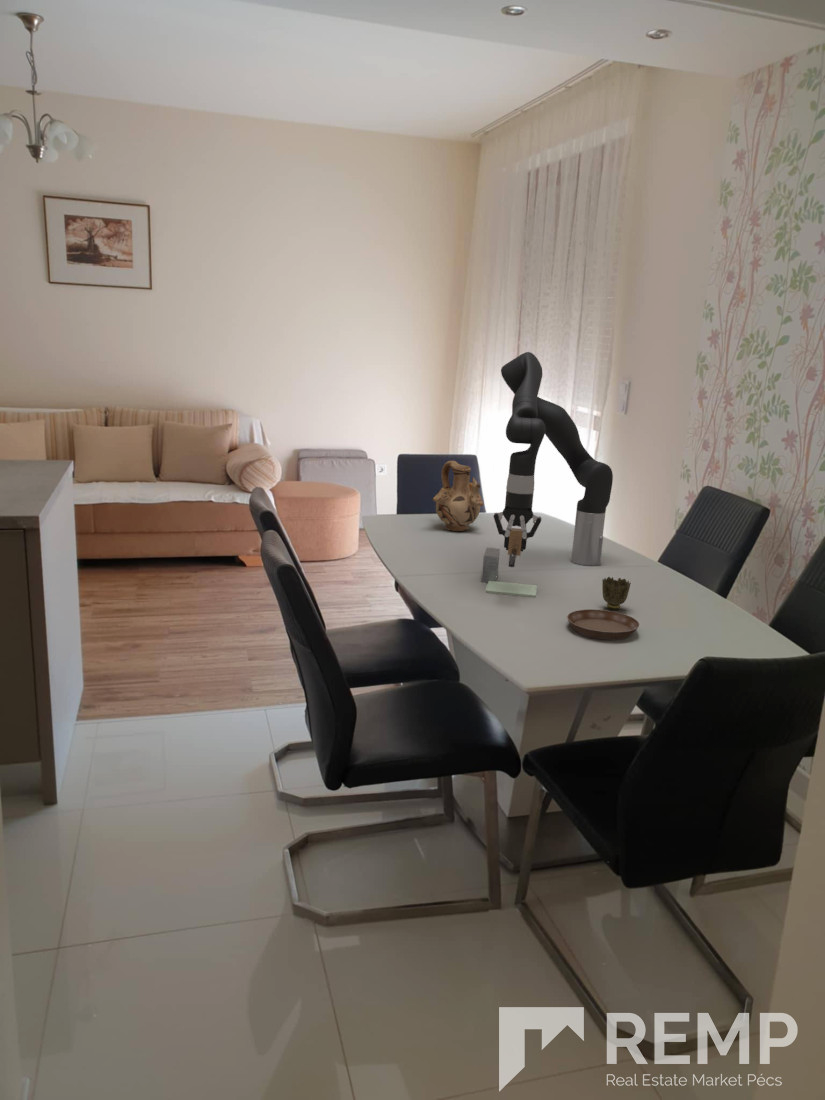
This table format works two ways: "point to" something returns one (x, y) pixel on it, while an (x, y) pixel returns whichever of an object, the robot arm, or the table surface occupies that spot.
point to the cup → (615, 592)
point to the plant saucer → (602, 624)
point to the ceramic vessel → (458, 498)
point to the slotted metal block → (490, 564)
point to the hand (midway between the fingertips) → (514, 549)
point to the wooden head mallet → (514, 545)
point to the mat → (511, 589)
